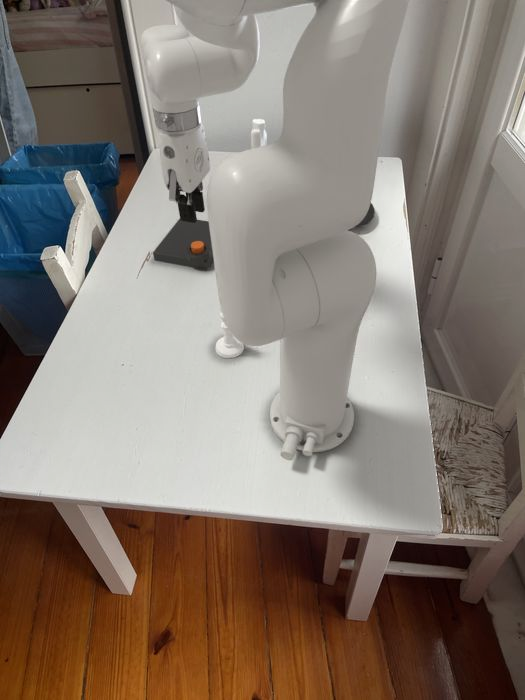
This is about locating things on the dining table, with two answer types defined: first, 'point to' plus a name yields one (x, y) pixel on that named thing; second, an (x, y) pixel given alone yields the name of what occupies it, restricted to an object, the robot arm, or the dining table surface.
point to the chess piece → (228, 343)
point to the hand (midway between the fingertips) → (192, 215)
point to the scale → (186, 245)
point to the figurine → (258, 133)
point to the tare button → (197, 247)
